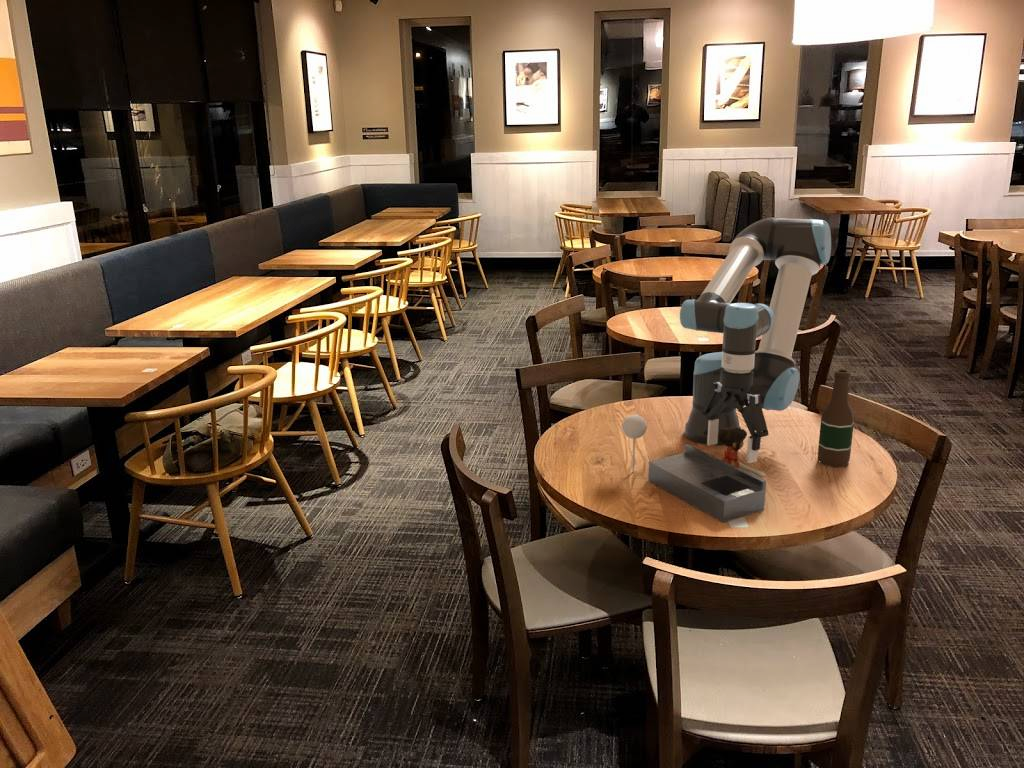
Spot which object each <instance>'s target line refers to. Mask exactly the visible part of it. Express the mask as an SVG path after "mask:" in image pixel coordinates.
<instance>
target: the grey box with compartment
mask: <svg viewBox="0 0 1024 768" xmlns="http://www.w3.org/2000/svg"><path fill="white" fill-rule="evenodd" d="M721 459H722V458H721ZM721 459H720V458H718V457H716V456H713V455H712V454H710V453H707V452H705V451H704V450H702V449H699V448H697V447H695V446H693V445H691V444H689V443H687V444H684V452H681V453H677V454H673V455H669V456H666V457H662V458H658V459H653V460H651V461H650V460H649V461H648V476H647V477H648V478H647V480H648V482H650V483H652V485H656V486H657V487H659V488H661V489H662V490H664V491H665V492H668V493H669V494H671V495H673V496H675V497H676V498H678V499H681V500H682V501H684V502H685V503H687V504H689V505H691V506H693V507H694V508H696V509H698V510H700V511H702V512H703V513H705V514H707V515H709V516H711V517H712V518H714V519H716V520H717V521H720V522H721V523H728V522H730V521H733V520H736V519H739V518H743V517H746V516H748V515H751V514H755V513H758V512H761V511H764V510H765V503H766V491H767V489H766V488H767V480H765V479H763V478H762V477H761V478H760V477H759V476H757V475H756V474H755V475H754V473H753V474H752V473H750V472H748V471H747V470H745V469H742V468H740V467H739V468H738V467H736V466H733V465H731V464H729V463H727V462H725V461H723V460H721Z"/></svg>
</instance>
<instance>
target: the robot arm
mask: <svg viewBox="0 0 1024 768" xmlns="http://www.w3.org/2000/svg"><path fill="white" fill-rule="evenodd" d="M831 234H832V233H831V228H830V225H829V223H828V221H826V220H823V219H813V218H788V217H787V218H786V217H767V218H764V219H760V220H758V221H754V223H751V224H750V225H748V226H747V227H746V228H744V229H743V230H742V231H740V232H739V233H738V234H737V235H736V236H735V237H734V239H733V240H732V242H731V243H730V245H729V248H728V249H729V252H728V254H727V255H726V257H725V259H724V260H723V261H722V263H721V265H720V266H719V268H718V269H717V271H716V272H715V273H714V275H713V276H712V278H711V280H710V281H709V283H708V284H707V285H706V287H705V288H704V290H702V291H703V292H702V293H701V294H700V296H699V297H698V299H695V298H693V299H686V300H684V301H683V302H682V305H681V308H680V311H679V322H680V324H681V326H682V327H683V328H684V329H687V330H688V329H689V330H692V331H699V332H707V333H718V334H722V335H723V336H722V349H721V350H722V351H719V352H718V351H717V352H711V353H710V352H709V353H705V354H702V355H700V356H698V357H697V358H696V360H695V361H694V369H693V381H692V382H693V383H692V384H693V385H692V386H693V387H692V408H691V411H690V412H689V416H688V419H687V422H686V423H685V427H684V436H685V437H686V438H687V439H688V440H691V441H693V442H694V443H695V442H696V443H698V444H704V445H706V446H709V447H710V446H721V445H722V444H721V443H720V442H719V440H718V434H719V431H720V429H725V428H729V427H731V426H736V427H739V428H741V425H740V420H739V417H738V414H737V413H740V415H741V416H742V419H743V421H744V423H745V425H746V427H747V430H748V432H749V434H750V435H749V436H747V446H746V447H747V451H746V464H752V463H756V462H758V456H759V451H760V449H761V441H762V440H761V439H762V438H763V437H767V436H769V430H768V426H767V423H766V418H765V415H764V411H763V410H765V411H777V412H778V411H779V412H781V411H784V410H787V408H788V407H790V406H791V404H792V403H793V401H794V399H795V397H796V395H797V391H798V389H799V382H800V379H801V378H800V377H801V376H800V375H801V373H800V371H799V369H798V368H796V361H795V360H794V359H793V356H792V355H793V352H794V348H795V343H796V340H797V336H798V331H799V328H800V324H801V320H802V315H803V312H804V308H805V303H806V299H807V296H808V292H809V288H810V284H811V279H812V276H814V275H816V274H817V273H818V272H819V271H820V269H821V268H820V267H821V265H826V264H828V263H829V261H830V259H831V253H832V235H831ZM767 260H768V261H775V262H774V264H775V266H776V267H777V269H778V272H777V273H778V274H777V277H776V280H775V284H774V288H773V291H772V292H773V293H772V295H771V296H772V297H771V300H770V303H769V306H768V305H767V304H764V303H754V304H753V303H749V302H734V303H732V301H733V300H734V298H735V297H736V295H737V294H738V292H739V291H740V289H741V287H742V285H743V284H744V283H745V281H746V279H747V277H748V276H749V274H750V273H751V271H752V270H753V268H754V267H756V266H757V267H758V265H760V264H761V263H762V262H763V261H767ZM759 337H761V338H760V342H759V345H758V349H757V350H756V345H757V344H756V343H757V338H759ZM737 411H738V412H737ZM741 429H742V428H741ZM722 446H723V445H722Z"/></svg>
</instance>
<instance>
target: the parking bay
mask: <svg viewBox="0 0 1024 768" xmlns="http://www.w3.org/2000/svg"><path fill="white" fill-rule="evenodd" d="M738 462H739V464H740V466H739V468H740V467H741V469H742V468H743V470H745V471H747V472H748V471H749V472H751V473H753V474H755V475H756V476H757V475H758V477H759V476H760V477H761V478H762V477H765V476H766V473H764V472H761V471H759V470H757V469H756V468H753V467H751V466H748V465H746V464H744V463H742V462H740V461H738Z"/></svg>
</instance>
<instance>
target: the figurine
mask: <svg viewBox="0 0 1024 768" xmlns="http://www.w3.org/2000/svg"><path fill="white" fill-rule="evenodd" d="M747 437H748V432H747V431H746V430H745V429H743V428H739V427H736V426H731V427H729V428H725V429H720V431H719V434H718V440H719V442H720V443H721V444H722V446H726V449H725V451H724V456H722V458H721V460H723V461H725V462H727V463H729V464H731V465H733V466H736V467H738V468H740V464H739V462H740V461H739V455H738V454H739V453H738V452H739V451H740V450H741V449H742V448H743V447H744V440H745V439H746V438H747Z"/></svg>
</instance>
